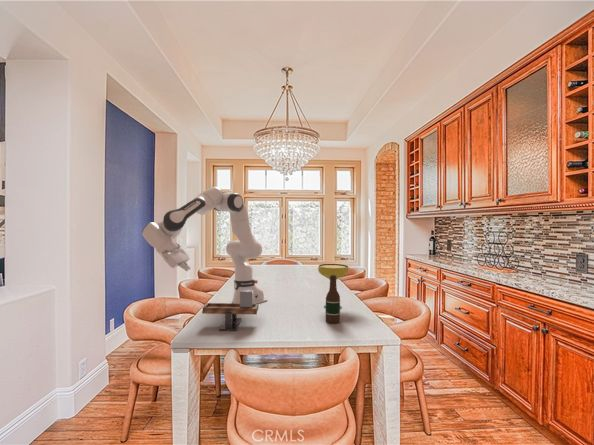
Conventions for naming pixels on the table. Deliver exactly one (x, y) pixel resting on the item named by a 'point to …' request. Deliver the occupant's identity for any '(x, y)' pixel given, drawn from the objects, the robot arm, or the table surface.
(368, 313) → the table surface
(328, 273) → the cocktail glass
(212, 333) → the table surface
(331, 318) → the beer bottle
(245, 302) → the block
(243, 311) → the balance beam
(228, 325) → the pivot stand
